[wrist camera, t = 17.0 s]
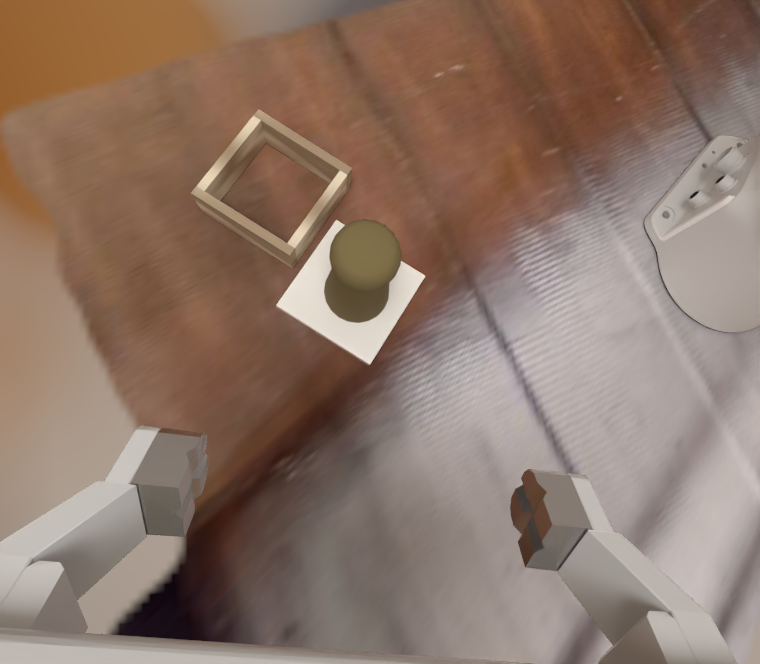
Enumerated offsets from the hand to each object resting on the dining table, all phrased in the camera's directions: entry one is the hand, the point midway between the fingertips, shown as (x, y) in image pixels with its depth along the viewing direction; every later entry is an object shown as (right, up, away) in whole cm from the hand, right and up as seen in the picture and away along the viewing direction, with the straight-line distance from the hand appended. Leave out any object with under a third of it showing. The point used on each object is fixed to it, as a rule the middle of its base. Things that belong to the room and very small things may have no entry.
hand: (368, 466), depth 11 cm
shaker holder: (-10, +16, +32) cm, 37 cm away
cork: (-2, +7, +30) cm, 31 cm away
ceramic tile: (-2, +7, +31) cm, 32 cm away
